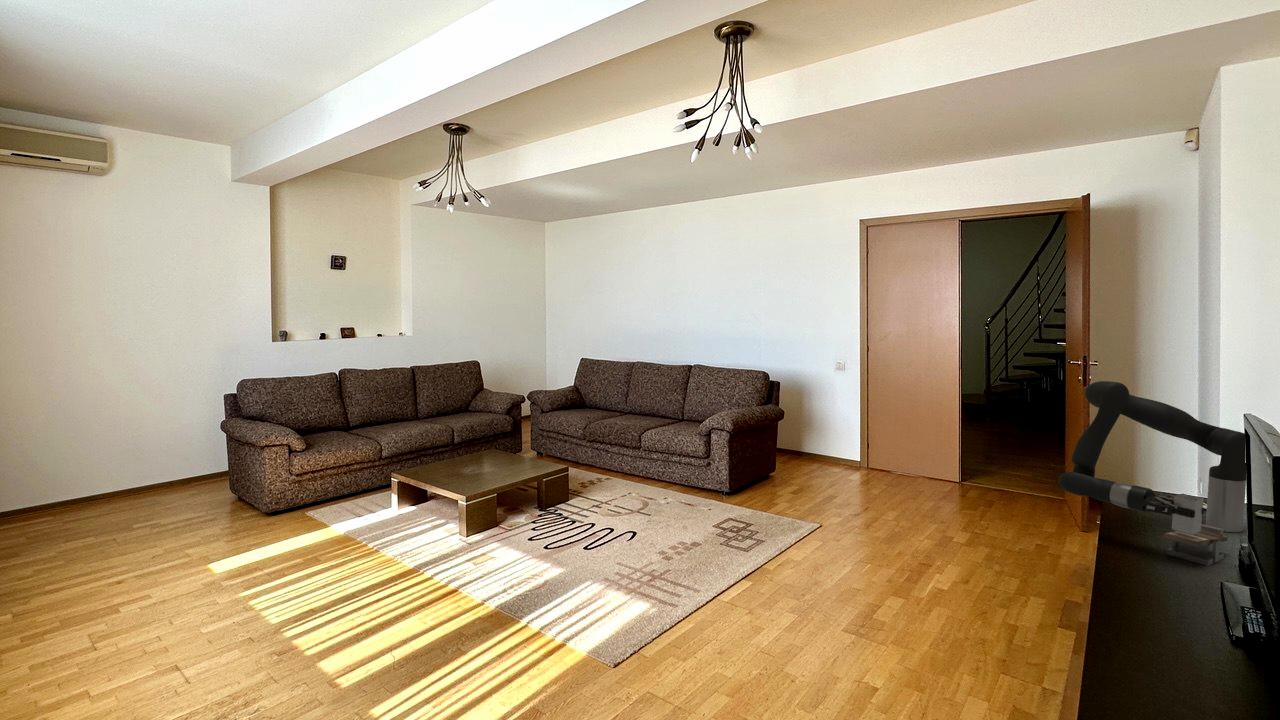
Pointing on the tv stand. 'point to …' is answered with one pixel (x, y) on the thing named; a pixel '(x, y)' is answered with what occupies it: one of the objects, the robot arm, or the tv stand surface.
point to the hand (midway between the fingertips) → (1198, 512)
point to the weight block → (1185, 522)
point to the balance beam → (1198, 536)
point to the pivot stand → (1196, 552)
